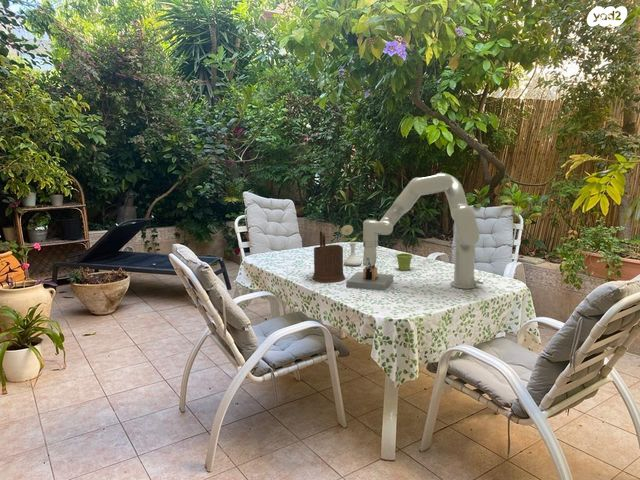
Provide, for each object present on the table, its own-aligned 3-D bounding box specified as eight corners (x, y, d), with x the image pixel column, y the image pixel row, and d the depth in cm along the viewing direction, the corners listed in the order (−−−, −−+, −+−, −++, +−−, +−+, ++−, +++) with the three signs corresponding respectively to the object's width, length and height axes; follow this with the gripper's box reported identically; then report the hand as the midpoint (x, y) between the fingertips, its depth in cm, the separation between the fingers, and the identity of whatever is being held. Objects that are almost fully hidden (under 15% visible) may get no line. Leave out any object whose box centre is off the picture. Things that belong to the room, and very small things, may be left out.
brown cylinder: (316, 284, 233) (316, 237, 229) (306, 273, 256) (305, 230, 252) (350, 281, 238) (349, 235, 234) (336, 270, 261) (336, 228, 256)
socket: (393, 280, 239) (393, 274, 238) (384, 290, 220) (384, 284, 220) (357, 277, 246) (357, 272, 245) (346, 286, 228) (346, 281, 227)
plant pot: (411, 272, 255) (411, 257, 254) (394, 270, 258) (394, 256, 257) (413, 268, 264) (413, 253, 262) (397, 267, 267) (397, 253, 265)
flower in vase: (362, 262, 280) (362, 223, 275) (362, 267, 269) (362, 226, 264) (341, 262, 281) (341, 223, 277) (340, 266, 270) (340, 226, 266)
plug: (377, 280, 235) (377, 267, 233) (374, 283, 229) (374, 270, 228) (366, 279, 237) (366, 266, 235) (363, 282, 231) (363, 269, 230)
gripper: (367, 240, 239) (367, 273, 242) (358, 246, 223) (358, 281, 226) (381, 241, 236) (381, 274, 239) (373, 247, 220) (373, 282, 223)
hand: (370, 277), depth 232 cm, fingers closed on plug, 5 cm apart
